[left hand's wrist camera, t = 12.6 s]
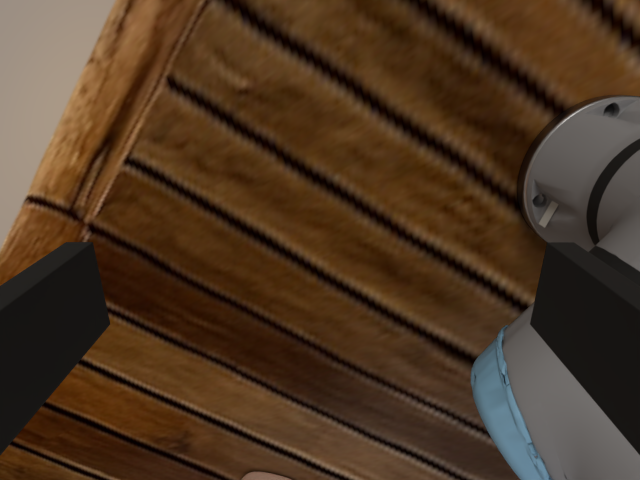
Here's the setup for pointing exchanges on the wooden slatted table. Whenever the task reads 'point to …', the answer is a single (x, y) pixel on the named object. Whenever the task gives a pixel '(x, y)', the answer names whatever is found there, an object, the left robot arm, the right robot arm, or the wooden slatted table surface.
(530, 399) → the left robot arm
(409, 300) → the wooden slatted table surface
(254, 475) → the anatomical model
